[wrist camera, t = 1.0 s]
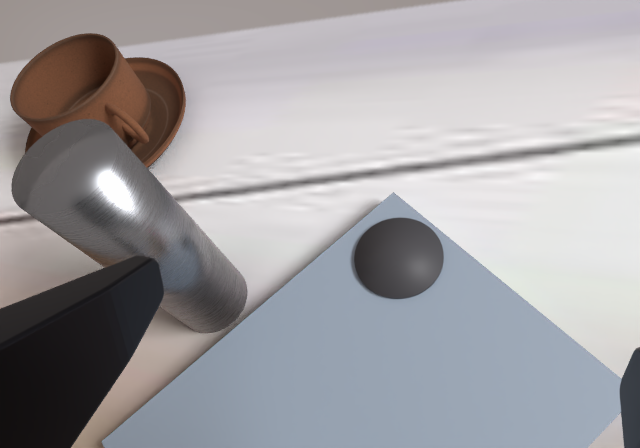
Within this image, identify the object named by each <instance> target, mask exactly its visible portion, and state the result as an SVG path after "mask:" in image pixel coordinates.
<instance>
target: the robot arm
mask: <svg viewBox="0 0 640 448" xmlns="http://www.w3.org/2000/svg"><path fill="white" fill-rule="evenodd" d="M163 296H164V286H163V281H162V276H161V272H160V267H159V263H158V261H157V260H156V259H155V258H152V257H147V256H141V255H137V256H134V257H131V258H129V259H126V260H124V261H121V262H118V263H116V264H113V265H111V266H108V267H106V268H103V269H101V270H98V271H96V272H93V273H90V274H88V275H85V276H83V277H80V278H78V279H75V280H73V281H70V282H68V283H65V284H62V285H60V286H57V287H55V288H52V289H50V290H47V291H45V292H42V293H40V294H37V295H34V296H32V297H29V298H27V299H24V300H22V301H19V302H17V303H14V304H12V305H9V306H6V307H4V308H1V309H0V448H71V447H72V445H73V444H74V442H75V441H76V439H77V438H78V436H79V435H80V433H81V432H82V430H83V429H84V427H85V426H86V425H87V423H88V422H89V420H90V419H91V417H92V416H93V414H94V413H95V411H96V410H97V408H98V407H99V405H100V404H101V402H102V401H103V399H104V398H105V396H106V395H107V394H108V392H109V391H110V389H111V388H112V386H113V385H114V383H115V382H116V380H117V379H118V377H119V376H120V374H121V373H122V371H123V370H124V368H125V367H126V365H127V364H128V362H129V361H130V359H131V357H132V355H133V354H134V352H135V350H136V348H137V346H138V345H139V343H140V341H141V339H142V337H143V335H144V333H145V332H146V330H147V328H148V326H149V324H150V322H151V320H152V319H153V317H154V315H155V313H156V311H157V309H158V307H159V306H160V304H161V302H162V299H163ZM619 394H620V405H621V416H622V427H623V438H624V448H640V347H638V348H637V349H636V350H635V351H634V352H633V354H632V357H631V359H630V361H629V364H628V366H627V368H626V371H625V373H624V375H623V377H622V380H621V383H620V392H619Z"/></svg>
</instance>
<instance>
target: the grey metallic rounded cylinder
mask: <svg viewBox="0 0 640 448" xmlns="http://www.w3.org/2000/svg"><path fill="white" fill-rule="evenodd" d="M12 195H13V198H14V201H15V202H16V204H17V205H18V206H19V207H20V208H21V209H23V210H24V211H26V212H27V213H29V214H30V215H31V216H33V217H34V218H36V219H37V220H38V221H40V222H41V223H43V224H44V225H45V226H47V227H48V228H50V229H51V230H53V231H54V232H55V233H57V234H58V235H60V236H61V237H62V238H64V239H65V240H67V241H68V242H69V243H71V244H72V245H74V246H75V247H76V248H78V249H79V250H81V251H82V252H84V253H85V254H86V255H88V256H89V257H91V258H92V259H93V260H95V261H96V262H98V263H99V264H100V265H102V266H103V267H105V268H106V267H108V266H111V265H113V264H116V263H118V262H121V261H124V260H126V259H129V258H131V257H134V256H137V255H141V256H147V257H152V258H155V259H156V260H157V261H158V263H159V267H160V272H161V276H162V281H163V286H164V296H163V299H162V302H161V304H160V307H161V308H163V309H164V310H165V311H167V312H168V313H170V314H171V315H172V316H174V317H175V318H177V319H178V320H179V321H181V322H182V323H184V324H185V325H187V326H188V327H189V328H191V329H192V330H194V331H197V332H201V333H212V332H216V331H220V330H222V329H224V328H226V327H227V326H229V325H230V324H231V323H233V322H234V321H235V320H236V319H237V317H238V316H239V315H240V313H241V312H242V310H243V308H244V306H245V303H246V299H247V285H246V282H245V279H244V277H243V276H242V275H241V273H240V272H239V271H238V270H237V269H236V268H235V267H234V265H233V264H232V263H231V262H230V261H229V260H228V259H227V258H226V256H225V255H224V254H223V253H222V252H221V251H220V250H219V249H218V247H217V246H216V245H215V244H214V243H213V242H212V241H211V240H210V238H209V237H208V236H207V235H206V234H205V233H204V232H203V231H202V229H201V228H200V227H199V226H198V225H197V224H196V223H195V222H194V220H193V219H192V218H191V217H190V216H189V215H188V214H187V213H186V211H185V210H184V209H183V208H182V207H181V206H180V205H179V204H178V202H177V201H176V200H175V199H174V198H173V197H172V196H171V194H170V193H169V192H168V191H167V190H166V189H165V188H164V187H163V185H162V184H161V183H160V182H159V181H158V180H157V179H156V178H155V176H154V175H153V174H152V173H151V172H150V171H149V170H148V169H147V167H146V166H145V165H144V164H143V163H142V162H141V161H140V160H139V158H138V157H137V156H136V155H135V154H134V153H133V152H132V151H131V149H130V148H129V147H128V146H127V145H126V144H125V143H124V142H123V140H122V139H121V138H120V137H119V136H118V135H117V134H116V133H115V131H114V130H113V129H112V128H111V127H110V126H109V125H107V124H106V123H104V122H102V121H99V120H95V119H81V120H75V121H71V122H68V123H66V124H63V125H61V126H59V127H57V128H55V129H53V130H51V131H50V132H48V133H47V134H45V135H44V136H43V137H41V138H40V139H39V140H38V141H37V142H35V143H34V144H33V145H32V146H31V147H30V148H29V150H28V151H27V152H26V153H25V155H24V156H23V157H22V159H21V160H20V162H19V164H18V166H17V168H16V170H15V172H14V176H13V179H12Z"/></svg>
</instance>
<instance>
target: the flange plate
mask: <svg viewBox="0 0 640 448" xmlns="http://www.w3.org/2000/svg"><path fill="white" fill-rule="evenodd" d="M621 380H622V379H621V378H620V377H618V376H617V375H616V374H615V373H614V372H612V371H611V370H610V369H609V368H607V367H606V366H605V365H604V364H603V363H601V362H600V361H599V360H598V359H596V358H595V357H594V356H593V355H592V354H590V353H589V352H588V351H587V350H586V349H584V348H583V347H582V346H581V345H579V344H578V343H577V342H576V341H575V340H573V339H572V338H571V337H570V336H568V335H567V334H566V333H565V332H564V331H562V330H561V329H560V328H559V327H557V326H556V325H555V324H554V323H553V322H551V321H550V320H549V319H548V318H546V317H545V316H544V315H543V314H542V313H540V312H539V311H538V310H537V309H535V308H534V307H533V306H532V305H531V304H529V303H528V302H527V301H526V300H524V299H523V298H522V297H521V296H520V295H518V294H517V293H516V292H515V291H513V290H512V289H511V288H510V287H509V286H507V285H506V284H505V283H504V282H502V281H501V280H500V279H499V278H498V277H496V276H495V275H494V274H493V273H491V272H490V271H489V270H488V269H487V268H485V267H484V266H483V265H482V264H480V263H479V262H478V261H477V260H476V259H474V258H473V257H472V256H471V255H469V254H468V253H467V252H466V251H465V250H463V249H462V248H461V247H460V246H458V245H457V244H456V243H455V242H454V241H452V240H451V239H450V238H449V237H447V236H446V235H445V234H444V233H443V232H441V231H440V230H439V229H438V228H436V227H435V226H434V225H433V224H432V223H430V222H429V221H428V220H427V219H425V218H424V217H423V216H422V215H421V214H419V213H418V212H417V211H416V210H414V209H413V208H412V207H411V206H410V205H408V204H407V203H406V202H405V201H403V200H402V199H401V198H400V197H399V196H397V195H396V194H395V193H394V192H393V193H392V194H391V195H390V196H389V197H388V198H386V199H385V200H384V201H383V202H382V203H381V204H379V205H378V206H377V207H376V208H375V209H373V210H372V211H371V212H370V213H369V214H368V215H366V216H365V217H364V218H363V219H362V220H361V221H359V222H358V223H357V224H356V225H355V226H354V227H352V228H351V229H350V230H349V231H348V232H347V233H345V234H344V235H343V236H342V237H341V238H339V239H338V240H337V241H336V242H335V243H334V244H332V245H331V246H330V247H329V248H328V249H327V250H325V251H324V252H323V253H322V254H321V255H320V256H318V257H317V258H316V259H315V260H314V261H313V262H311V263H310V264H309V265H308V266H307V267H305V268H304V269H303V270H302V271H301V272H300V273H298V274H297V275H296V276H295V277H294V278H293V279H291V280H290V281H289V282H288V283H287V284H286V285H284V286H283V287H282V288H281V289H280V290H279V291H277V292H276V293H275V294H274V295H273V296H271V297H270V298H269V299H268V300H267V301H266V302H264V303H263V304H262V305H261V306H260V307H259V308H257V309H256V310H255V311H254V312H253V313H252V314H250V315H249V316H248V317H247V318H246V319H244V320H243V321H242V322H241V323H240V324H239V325H237V326H236V327H235V328H234V329H233V330H232V331H230V332H229V333H228V334H227V335H226V336H225V337H223V338H222V339H221V340H220V341H219V342H218V343H216V344H215V345H214V346H213V347H212V348H210V349H209V350H208V351H207V352H206V353H205V354H203V355H202V356H201V357H200V358H199V359H198V360H196V361H195V362H194V363H193V364H192V365H191V366H189V367H188V368H187V369H186V370H185V371H184V372H182V373H181V374H180V375H179V376H178V377H176V378H175V379H174V380H173V381H172V382H171V383H169V384H168V385H167V386H166V387H165V388H164V389H162V390H161V391H160V392H159V393H158V394H157V395H155V396H154V397H153V398H152V399H151V400H150V401H148V402H147V403H146V404H145V405H144V406H142V407H141V408H140V409H139V410H138V411H137V412H135V413H134V414H133V415H132V416H131V417H130V418H128V419H127V420H126V421H125V422H124V423H123V424H121V425H120V426H119V427H118V428H117V429H116V430H114V431H113V432H112V433H111V434H110V435H108V436H107V437H106V438H105V439H104V440H103V441H101V442H102V444H103V446H104V448H588V447H589V446H590V444H591V443H592V442H593V441H594V440H595V439H596V438H597V437H598V436H599V435H600V434H601V433H602V432H603V431H604V430H605V429H606V428H607V426H608V425H609V424H610V423H611V422H612V421H613V420H614V419H615V418H616V417H617V416H618V415H619V414H620V413H621V405H620V394H619V392H620V383H621Z"/></svg>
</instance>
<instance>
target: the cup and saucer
mask: <svg viewBox="0 0 640 448" xmlns="http://www.w3.org/2000/svg"><path fill="white" fill-rule="evenodd" d="M10 102H11V106H12V108H13V110H14V111H15V112H16V114H18V115H19V116H20V117H21V118H22V119H23V120H24V121H25V122H27V123H28V124H29V125H30V126H31V127H32V128H31V130H30V133H29V135H28V139H27V143H26V149H25V153H26V152H27V151H28V150H29V148H30V147H31V146H32V145H33V144H34V143H35V142H37V141H38V140H39V139H40V138H41V137H43V136H44V135H45V134H47V133H48V132H50V131H51V130H53V129H55V128H57V127H59V126H61V125H63V124H66V123H68V122H71V121H75V120H81V119H95V120H99V121H102V122H104V123H106V124H107V125H109V126H110V127H111V128H112V129H113V130H114V131H115V133H116V134H117V135H118V136H119V137H120V138H121V139H122V140H123V142H124V143H125V144H126V145H127V146H128V147H129V148H130V149H131V151H132V152H133V153H134V154H135V155H136V156H137V157H138V158H139V160H140V161H141V162H142V163H143V164H144V165H145V166H146V167H147V168H148V167H149V166H150V165H151V164H152V163H154V162H155V161H156V160H157V159H158V158H159V157H160V156H161V155H162V153H163V152H164V151H165V150H166V149H167V147H168V146H169V144H170V143H171V142H172V140H173V138H174V137H175V135H176V133H177V131H178V129H179V127H180V125H181V122H182V119H183V116H184V112H185V105H186V98H185V92H184V88H183V84H182V82H181V80H180V78H179V76H178V74H177V73H176V72H175V71H174V70H173V69H172V68H171V67H170V66H168V65H167V64H165V63H163V62H161V61H158V60H155V59H150V58H126V59H125V58H124V57H123V56H122V54H121V53H120V51H119V50H118V48H117V47H116V46H115V44H114V43H113V42H112V41H111V40H110V39H109V38H107V37H105V36H103V35H100V34H91V33H90V34H79V35H75V36H71V37H69V38H66V39H63V40H61V41H58V42H56V43H55V44H53V45H51V46H49V47H47V48H46V49H44V50H43V51H42V52H40V53H39V54H38V55H36V56H35V57H34V58H33V59H32V60H31V61H30V62H29V63H28V64H27V65H26V66H25V67H24V68H23V69H22V71H21V72H20V73H19V75H18V76H17V78H16V80H15V82H14V84H13V87H12V90H11V95H10Z"/></svg>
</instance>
